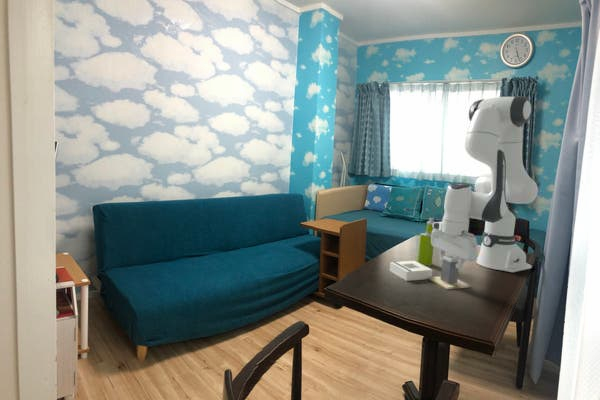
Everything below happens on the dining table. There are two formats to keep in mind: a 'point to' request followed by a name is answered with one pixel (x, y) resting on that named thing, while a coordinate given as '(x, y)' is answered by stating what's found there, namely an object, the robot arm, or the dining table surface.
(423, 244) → the vape
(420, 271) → the white flat square piece
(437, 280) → the coaster
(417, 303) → the dining table surface
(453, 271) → the plug
